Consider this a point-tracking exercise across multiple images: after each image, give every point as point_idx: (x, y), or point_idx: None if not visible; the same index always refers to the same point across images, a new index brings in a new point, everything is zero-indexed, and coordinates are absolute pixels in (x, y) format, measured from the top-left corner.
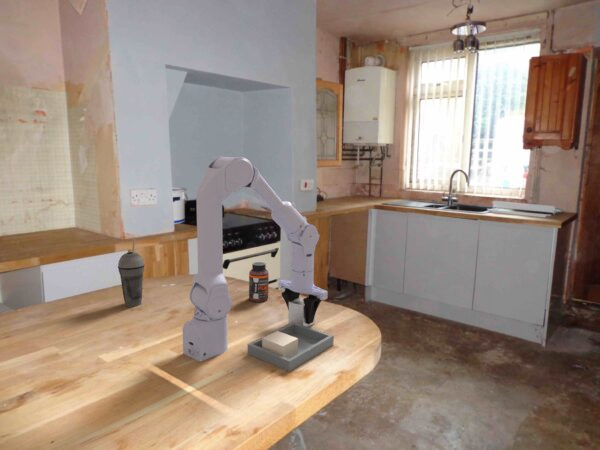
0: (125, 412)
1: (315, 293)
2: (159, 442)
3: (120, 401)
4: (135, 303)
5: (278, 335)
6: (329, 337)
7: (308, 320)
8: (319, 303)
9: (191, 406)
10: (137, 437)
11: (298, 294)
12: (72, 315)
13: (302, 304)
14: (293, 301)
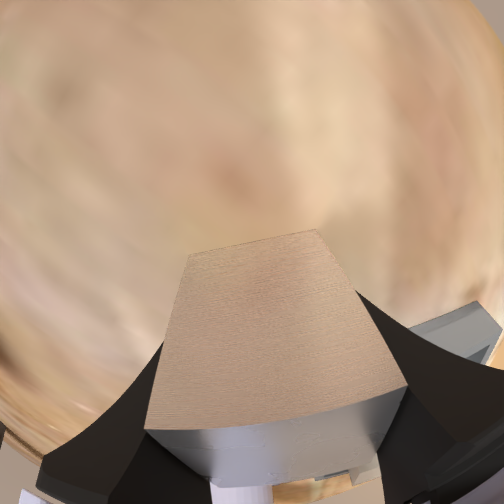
0: (303, 497)
1: (493, 502)
2: (363, 483)
3: (282, 500)
4: (1, 427)
5: (378, 471)
6: (492, 347)
7: None
8: (471, 368)
9: (347, 480)
10: (343, 490)
11: (145, 473)
12: (37, 457)
13: (344, 464)
14: (236, 481)
